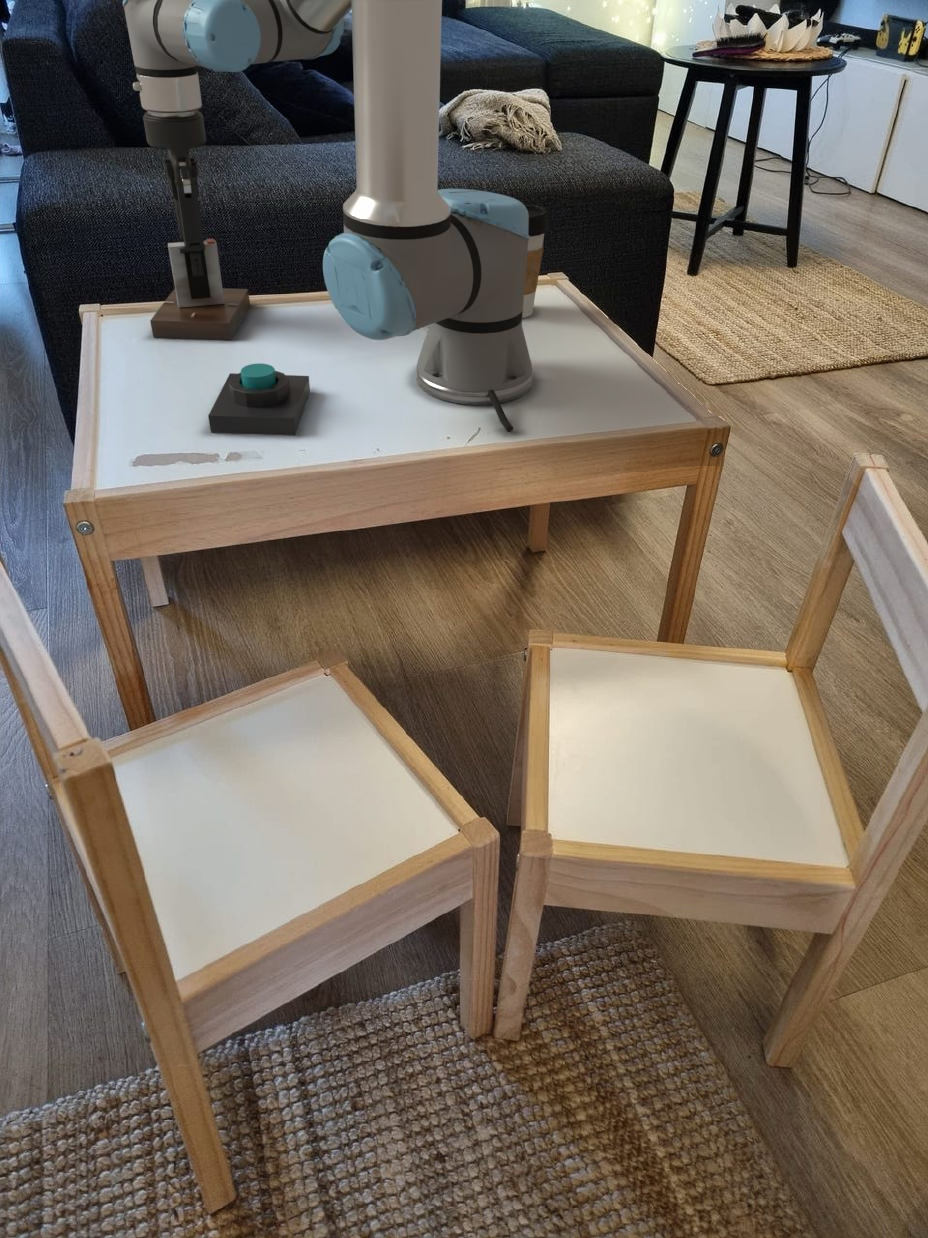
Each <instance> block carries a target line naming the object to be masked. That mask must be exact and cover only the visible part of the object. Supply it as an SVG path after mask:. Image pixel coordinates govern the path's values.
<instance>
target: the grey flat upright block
mask: <svg viewBox="0 0 928 1238" xmlns="http://www.w3.org/2000/svg"><path fill="white" fill-rule="evenodd" d="M204 244H205V251H204V253H205V260H206V267H207V274H208V281H209V288H210V295H211V298H200V299H191V294H190V288H189V281H188V275H187V269H186V262H185V256H184V253H180V250H179V248H184V242H182V241H181V242H179V241H178V242H168V243H167V248H168V254H169V261H170V266H171V273H172V277H173V285H174V289H175V291H176V297H177V303H178V306H179V308H182V307H193V306H205V305H216V304H224V296H223V282H222V275H221V266H220V259H219V251H218V244H217V241H216V240H215V239H214V238H205V241H204Z"/></svg>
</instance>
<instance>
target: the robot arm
mask: <svg viewBox="0 0 928 1238" xmlns="http://www.w3.org/2000/svg"><path fill="white" fill-rule="evenodd" d="M122 7H123V10H124V15H125V20H126V27H127V31H128V37H129V42H130V48H131V54H132V59H133V65H134V69H135V73H136V79H137V80H138V81H134V82H133V83H132V89H133V90H134V91H136V92H139V98H140V99H139V100H140V104H141V108H142V109H143V110H145V111H146V112H144V115H143V116H142V120H143V125H144V131H145V138H146V142H147V144H148V145H149V146H150V147H152V148H155V149H159V150H167V152H168V157H166V158H163V165H164V170H165V173H166V175H167V178H168V184H169V185H168V186H169V190H170V193H171V195H172V197H173V201H174V208H175V213H176V219H177V226H178V228H177V231H178V234H179V235H180V236H179V240H180V241H181V242H184V248H179V250H180V253H184V256H185V262H186V269H187V275H188V281H189V288H190V294H191V299H200V298H211V295H210V288H209V281H208V274H207V267H206V260H205V253H204V251H205V244H204V241H206V238H205V235H204V233H203V225H202V218H201V211H200V210H201V209H200V204H199V198H200V190H199V184H198V176H199V172H198V166H197V165H198V164H197V161H195V157H190V150H191V149H198V148H200V147H203V146H204V145H205V144H206V142H207V135H206V128H205V121H204V115H203V114H202V112H200V111H199V110H201V108H202V107H203V101H202V94H201V87H200V86H201V85H200V79H199V78H200V77H199V72H198V69H197V68H198V67H202V68H205V69H208V70H211V71H213V72H217V73H224V72H227V73H228V72H229V73H239V72H242V71H244V70H247V68H248V67H250V66H251V65H257V64H258V65H259V64H265V63H273V62H283V61H294V60H307V61H308V60H314V59H317V58H319V57H323V56H328V55H330V54H332V53H334V52H335V51H336V50H337V49H338V47H340V44H341V37H342V35H343V34H344V27H345V25H344V24H345V23H344V18H345V17H346V16H347V15H348V14H349V13H350V12H351V32H352V38H351V39H352V68H353V70H352V71H353V73H352V74H353V99H354V100H353V103H354V104H353V105H354V106H353V107H354V109H353V110H354V138H355V140H354V141H355V142H354V143H355V172H356V173H355V177H356V188H355V190H354V192H353V193H352V194H351V195H350V196H349V197H348V198H347V199H346V200H345V201H344V203H343V205H342V215H343V217H342V218H343V219H342V220H343V232H342V233H339V234H338V235H335V236H334V237H333V239H331V240H330V241H329V243H328V246H327V247H326V248H325V250H324V253H323V258H322V259H323V260H322V273H323V279H324V285H325V287H326V291H327V294H328V295H329V298H330V300H331V303H332V304H333V306H334V308H335V310H337V312H338V313H339V315H340V317H341V318H342V320H343V321H344V323H346V324H347V325H348V326H349V327H350V328H351V329H352V330H353V331H355V332H356V333H357V334H359V335H361V336H363V337H365V338H367V339H370V340H375V341H384V340H388V339H392V338H395V337H405V336H407V335H410V334H411V333H412V332H415V331H416V330H419V329H421V328H424V327H427V326H428V329H427V332H426V335H425V337H424V341H423V344H422V347H421V350H420V353H419V356H418V359H417V362H416V383H417V385H418V386H419V388H421V390H423V392H425V393H427V394H428V395H430V396H432V397H434V398H436V399H439V400H442V401H446V402H451V403H454V404H455V403H456V404H462V405H475V406H477V405H479V406H480V405H492V406H493V408H494V411H495V413H496V415H497V417H498V420H499V422H500V423H501V425H502V427H503V428H504V430H505V431H506V432H507V433H512V432H513V431H514V426H513V425H512V424H511V422H510V421H509V419H508V418H507V415H506V413H505V410H504V409H503V406H502V404H501V403H506V402H509V401H512V400H515V399H517V398H519V397H521V396H523V395H525V394H526V393H527V392H529V390H530V389H531V386H532V385H533V374H534V373H533V372H534V371H533V363H532V360H531V356H530V353H529V348H528V344H527V341H526V340H527V339H526V336H525V333H524V328H523V318H522V315H523V302H524V289H525V276H526V263H527V250H528V240H529V239H530V236H529V234H528V225H529V214H528V210H527V209H526V207H525V206H524V205H525V204H524V203H523V202H522V201H521V200H519V199H516V198H514V197H512V196H509V195H505V194H502V193H501V194H500V193H496V192H490V191H485V190H477V189H469V188H468V189H467V188H442V189H438V187H439V186H438V185H439V176H438V175H439V145H440V144H439V141H440V139H439V137H440V103H441V102H440V97H441V59H442V58H441V56H442V18H443V17H442V13H443V0H122Z"/></svg>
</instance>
